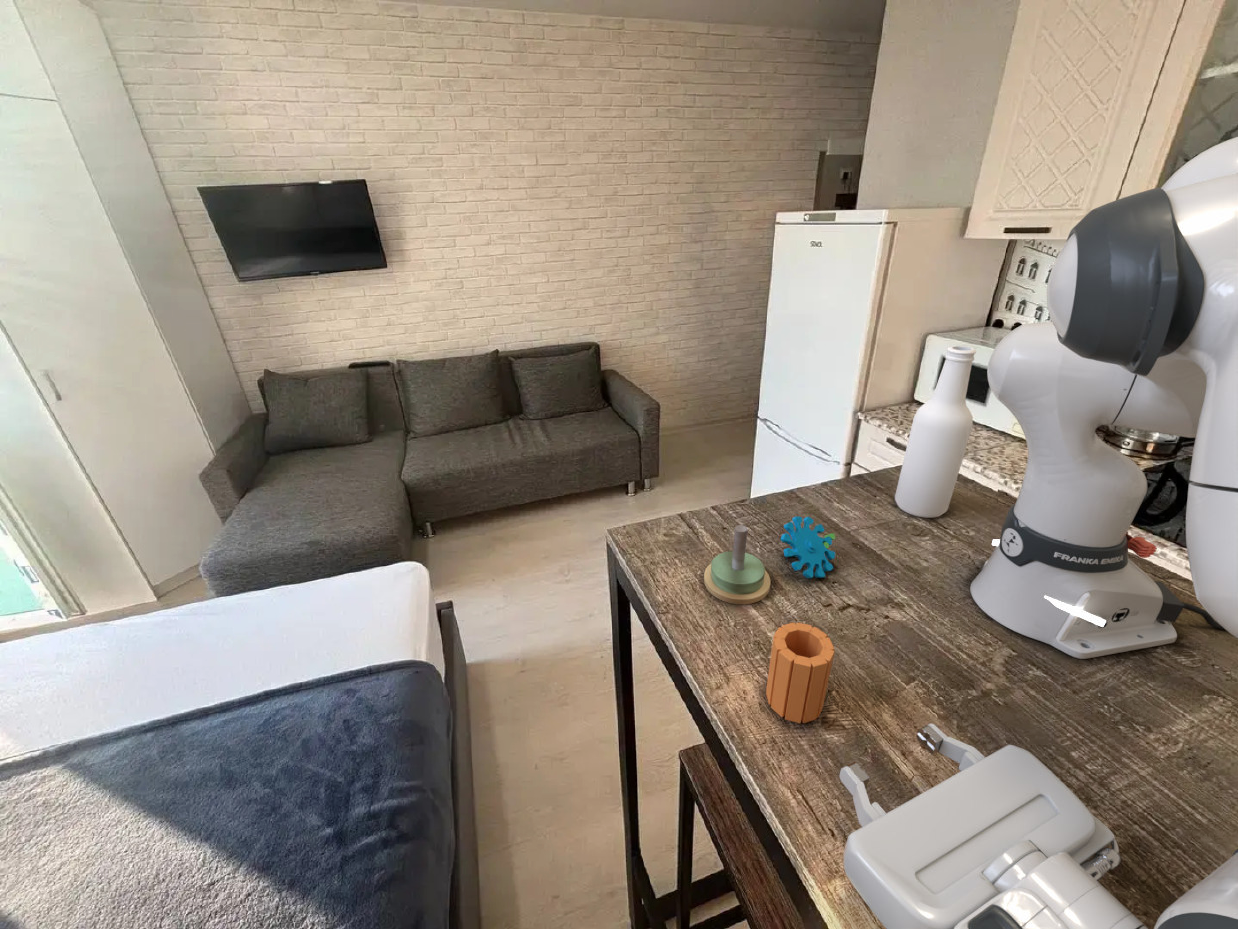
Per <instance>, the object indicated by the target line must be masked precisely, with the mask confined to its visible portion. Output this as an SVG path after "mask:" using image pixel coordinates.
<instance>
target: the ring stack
mask: <svg viewBox="0 0 1238 929" xmlns="http://www.w3.org/2000/svg"><path fill="white" fill-rule="evenodd" d="M733 532H734V534H733V544H732V545H733V546H732V550H729V551H724V552H721V553H719V554H717V555H716V556H714V558H713V559H712V560H711V562H710V563H709V564H708V565H707V567H705V570H704V572H703V583H704V585H705V588H706V590H707V591H708V593H709V594H711V595H712V596H713V597H714V598H716V599H718V600H720V601H723V602H726V603H728V604H733V605H751V604H755V603H758V602H760V601H761V600H763V599H765V598H766V597H767V595H768V594H769V593H770V590H771V577H770V574H769V573H768V572H767V570H766V568H765V565H764V563H763V562H762V560H760V559H759V558H758V557H757V556H755V555H754V554H751V553H748V552H746V550H747V549H746V548H747V538H748V527H747V526H746V525H744V524H738V525H735V526H734V531H733Z"/></svg>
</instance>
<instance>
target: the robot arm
mask: <svg viewBox="0 0 1238 929" xmlns="http://www.w3.org/2000/svg"><path fill="white" fill-rule="evenodd" d="M1046 305H1047V310H1048V311H1047V312H1048V315H1049V318H1050V320H1051V321H1043V322H1033V323H1023V324H1021V325H1019V326H1018V327H1016V328H1014V329H1013V330H1010V332H1008V333H1007V334H1006V335H1004V336H1003V338H1002V339H1001V340H1000V341H999V342H998V343H997V345H996V346H995V347H994V349H993V351H992V353H991V355H990V357H989V360H988V363H987V371H986V372H987V374H986V375H987V376H986V377H987V381H988V386H989V388H990V390H991V392H992V394H993V395H994V397H995V398H996V399H997V400H998V401H999V402H1000V403H1001V404H1002V405H1004V407H1006V408H1007V410H1009V412H1010V413H1011V414H1012V415H1013V417H1014V418H1015V419H1016V421H1017V423H1018V424H1019V426H1020V428H1021V430H1022V433H1023V435H1024V438H1025V442H1026V446H1027V458H1026V459H1027V461H1026V466H1025V471H1024V475H1023V479H1022V483H1021V485H1020V489H1019V493H1018V495H1017V499H1016V501H1015V503H1013V504H1011V506H1010V508H1009V509H1008V512H1007V514H1006V517H1005V519H1004V521H1003V523H1002V527H1001V532H1000V538H999V539H992V543H991V545H992V546H995V547H994V549H993V551H992V553H991V555H990V556H989V558H988V559H987V560H986V561H985V562H984V564H983V566H982V569H981V571H980V572H979V573H978V575H976V577H975V578H974V579H973V580H972V581H971V583H970V588H969V590H970V595H971V597H972V599H973V601H974V602H975V603H976V605H978V607H979V609H981V610H982V611H983V612H984V613H985V614H986V615H987V616H989V617H990V619H993V620H994V621H996V622H997V623H999V624H1000V625H1002V626H1004V627H1006V628H1008V629H1009V630H1011V631H1013V632H1015V633H1018V634H1020V635H1022V636H1025V637H1027V638H1031V639H1033V640H1037V641H1038V642H1039V641H1040V642H1042V643H1045V644H1048V645H1049V646H1051V647H1053V648H1055V649H1057V650H1058V651H1061V652H1063V653H1064V654H1066V655H1068V656H1070V657H1073V658H1075V659H1080V660H1086V659H1092V658H1098V657H1102V656H1109V655H1113V654H1119V653H1125V652H1131V651H1137V650H1142V649H1147V648H1153V647H1157V646H1163V645H1170V644H1173V643H1175V642H1176V640H1177V639H1178V633H1177V631H1176V629H1175V627H1174V626H1173V624H1172V623H1176V621H1177V619H1178V618H1179V616H1180V614H1181V613H1182V612H1183V610H1188V611H1190V612H1193V613H1196V614H1197V615H1200V616H1201V617H1202V618H1203V619H1204V620H1205V622H1206V623H1207V624H1208V625H1210V626H1211V627H1213V628H1215V629H1219V630H1221V631H1227V632H1228V633H1229V634H1230V635H1232V637H1235V638H1236V639H1237V640H1238V136H1235V137H1233V138H1230V139H1227V140H1225V141H1223V142H1221V143H1218V144H1216V145H1213V146H1211V147H1209V148H1208V149H1206V150H1204V151H1202V152H1200V153H1199V154H1197V155H1196V156H1195V157H1193V158H1191V159H1190V160H1188V161H1186V162H1185V164H1183V165H1182V166H1181V167H1179V169H1177V170H1176V171H1175V172H1174V173H1173V174H1172V175H1171V176H1170V177H1169V179H1167V180H1166V182H1165V183H1164V184H1163V185H1162V186H1161V187H1155V188H1151V189H1148V190H1144V191H1141V192H1136V193H1134V194H1131V195H1127V196H1125V197H1122V198H1118V199H1116V200H1113V201H1110V202H1107V203H1104V204H1102V205H1100V206H1098V207H1096V208H1093V209H1091V210H1090V211H1089V212H1088V213H1087V214H1086V215H1085V216H1083V218H1082V219H1081V220H1080V221H1079V222H1078V223H1076V225H1075V226H1074V227H1072V228H1071V230H1070V231H1069V233H1068V235H1067V239H1066V242H1065V244H1064V245H1063V246H1062V247H1061V250H1060V251H1059V252H1058V254H1057V257H1056V258H1055V261H1054V263H1053V265H1052V268H1051V270H1050V273H1049V277H1048V281H1047V286H1046ZM1101 426H1113V427H1114V426H1115V427H1121V428H1127V429H1134V430H1139V431H1143V432H1144V431H1145V432H1150V433H1157V434H1163V435H1168V436H1175V437H1181V438H1189V439H1194V444H1193V450H1192V457H1191V465H1190V471H1189V478H1188V479H1189V481H1190V482H1189V483H1188V488H1187V489H1188V490H1187V501H1186V510H1185V543H1186V551H1187V559H1188V564H1189V570H1190V575H1191V581H1192V585H1193V589H1194V594H1195V597H1196V600H1197V601H1198V603H1200V605H1201V606H1202V607H1203V608H1201V607H1199V606H1196V605H1195V604H1194V605H1193V604H1191V603H1187V602H1183V601H1181V600H1180V599H1179V598H1178V597H1177V596H1176V595H1175V594H1174V592H1172V591H1171V590H1170V589H1169V587H1167V586H1166V585H1165V584H1164V582H1162V581H1157V580H1154V579H1152V578H1151V577H1150V576H1149V575H1148V574H1147V573H1146V572H1145V571H1144V570H1142V569H1141V568H1140V567H1139V566H1138V565H1137V564H1135V562H1134V561H1132V560H1131V559H1130V558H1129V551H1133V553H1134V554H1136V555H1137V556H1138V557H1139V558H1142V559H1147V558H1150V557H1151V556H1153V555H1155V553H1157V549H1158V548H1157V545H1156V544H1154V543H1152V542H1150V541H1147V540H1146V538H1144V537H1142V536H1134V537H1133V536H1132V535H1131V534H1129V529H1130V527H1131V526H1132V523H1133V521H1134V519H1135V517H1136V515H1137V513H1138V511H1139V509H1140V506H1141V505H1142V503H1143V501H1144V499H1145V497H1146V495H1147V492H1148V480H1147V477H1146V475H1145V473H1144V472H1143V470H1142V469H1141V467H1140V466H1139V465H1138V464H1137V463H1135V461H1134V460H1132V459H1131V458H1129V457H1128V456H1127V455H1125V454H1124V453H1122V452H1120V451H1119V450H1118V449H1116V448H1113V447H1112V446H1110V445H1109V444H1108V443H1106V442H1105V441H1103V439H1101V438H1100V437H1099V436H1098V434H1097V432H1096V431H1097V428H1099V427H1101ZM916 739H917V742H918V744H920V745H921V746H924V749H925V750H926V751H927V752H928V753H929V754H931V756H932V755H934V754H936V753H940V754H941V755H943V756H944V757H946V758H948V759H950V760H952V761H954V762H956V763H958V764H959V765H958V770H959V772H957V773H956V774H953V775H952V776H950V777H948V778H946V779H944V780H942V781H941V782H940V783H938V784H936V785H934V786H932V787H930V788H929V789H927V790H925V791H924V792H922V793H920V794H917V795H916V796H915V797H913V798H911V799H909V800H908V801H906V802H904V803H902V804H900V805H899V806H897V807H895V808H893V809H892V810H890V811H888V812H886V811H885V810H884V809H883V807H882V806H881V805H880V804H879V802H878V801H877V802H876V801H874V802H873V803H871V802H870V798H869V795H868V793H867V792H868V791H867V788H868V786H869V785H868V784H869V782H870V778H871V777H870V776H869V775H868V773H866V771H865V770H863V769H861V768H862V767H861V765H860V764H859V763H857V761H853V762H851V763H849V764H847V765H845V766H843V767H841V768H840V771H839V775H838V776H839V779H840V782H841V783H842V784H843V786H844V787H845V788H846V789H847V790H848V792H849V794H851V796H852V801H853V806H854V808H855V809H854V810H855V812H856V817H857V820H858V824H859V825H860V826H861V827H860V828H858V829H856V830H854V831H852V832H851V833H850V834H849V835H848V837H847V839H846V842H845V845H844V849H843V852H842V861H843V869H844V872H845V875H846V877H847V879H848V880H849V882H850V883H851V885H852V886H853V888H854V889H855V891H856V892H857V893H858V895H859V897H861V899H862V900H863V901H864V902H865V904H866V905H867V907H868V908H869V909H870V911H871V912H872V913H873V915H874V916H875V917H876V919H878V920H879V922H880V923H881V924H882V925H883V927H884V928H885V929H1149V928H1148V927H1147V926H1146V925H1144V923H1143V922H1142V921H1141V920H1140V919H1139V918H1138V917H1137V916H1135V914H1133V913H1132V912H1131V911H1130V910H1129V909H1128V908H1127V907H1126V906H1124V904H1122V903H1121V902H1120V901H1119V900H1118V898H1116V896H1114V895H1113V894H1112V893H1111V892H1110V891H1109V890H1108V889H1107V888H1106V887H1105V886H1103V885H1102V884H1101V883H1100V880H1101V879H1102V878H1103V877H1104V876H1105V874H1106V873H1108V872H1110V871H1113V870H1115V869H1116V868H1118V867H1119V865H1120V864H1121V862H1122V857H1121V855H1120V847H1119V844H1118V842H1117V839H1116V836H1115V834H1114V833H1113V831H1111V829H1110V828H1109V827H1108V826H1106V824H1104V823H1103V822H1102V821H1101V820H1099V818H1097V817H1096V816H1095V815H1094V814H1093V813H1091V811H1090V810H1089V809H1088V807H1087V806H1086V805H1085V804H1084V802H1082V801H1081V799H1079V797H1078V796H1077V795H1076V794H1075V793H1074V792H1073V791H1072V790H1071V789H1070V788H1069V787H1068V786H1067V785H1066V784H1065V783H1064V782H1063V781H1062V780H1061V779H1060V778H1059V777H1058V776H1056V774H1054V773H1053V772H1052V771H1051V769H1049V768H1048V767H1047V766H1046V765H1045V764H1044V763H1043V762H1042V761H1040V760H1039V759H1038V758H1037V757H1036V756H1035V755H1034V754H1033V753H1031V752H1030V751H1028V750H1027V749H1024V748H1022V747H1019V746H1016V745H1015V744H1007V745H1005V746H1004V747H1002V748H999V749H998V750H996V751H994V752H993V753H991V754H989V755H987V756H985V755H983V754H982V753H981V752H980V750H978V749H977V748H976V747H975V746H973V745H970V744H968V743H965V742H962V741H961V740H958V739H955V738H953V737H951V736H948V735H947V734H945V733H944V732H943V731H942V730H941V729H940V728H939V727H938V726H936V725H935V724H934V723H931V722H930V723H928V724H926V725H925V726H923V727H921V728H919V729H918V733H917V734H916ZM1110 845H1111V847H1108V846H1110ZM1153 929H1238V848H1237V849H1236V850H1235V851H1234V852H1233V854H1232V855H1231V857H1229V858H1228V859H1227V860H1226V861H1225V862H1223V863H1222V864H1221V865H1219V866H1218V867H1217V868H1216V869H1214V870H1213V871H1212V872H1211V873H1209V874H1208V875H1207V876H1206V877H1205V878H1203V879H1202V880H1201V881H1199V882H1198V883H1197V884H1195V885H1194V886H1193V887H1191V888H1190V889H1189V890H1187V891H1186V892H1185V893H1184V894H1182V895H1181V896H1180V897H1179V898H1177V899H1176V900H1175V901H1174V902H1172V903H1171V904H1170V905H1169V906H1168V907H1167V908H1165V909H1164V911H1162V913H1161V914H1160V916H1159V917H1158V918H1157V920H1156V923H1155V924H1154V926H1153Z"/></svg>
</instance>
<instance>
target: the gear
mask: <svg viewBox="0 0 1238 929" xmlns="http://www.w3.org/2000/svg"><path fill="white" fill-rule="evenodd" d="M814 522H815V521H814V519H813V518H812V517H810V516H806V517H802V516H794V517H792V520H791V521H789V522H787V523H785V524H784V525H783V529H785V531H786V532H784V533H783V534H781V537H780V542H782V543H783V544H786V545H789V546H790V547H787V548H784V549H783V555H784V557H785V558H791V557H795V558H798V560H796V561H793V562H792V563H791V568H792V569H793V570H794V571H795V572H797V571H800V570H802V568H803V566H804V565H806V566H807V569H805V570H803V572H802V576H803V577H805V578H806V579H808V580H809V579H812V578H813V577H815V578H816V579H822V578H825V577H826V572H830V571H832V570H833V569H834V566H833V564H832V563H831V562H830V561H832V560H835V558H836V552H835V551H834V550H830V549H829V548H830V546H831V545H833V540H835V539H836V534H835V533H833V532H832V533H829V534H826V535H824V537H821V536H820V535H819V534H821V533H824V532H825V528H824V526H823V524H822V523H820V524H817V525H815V526H814V528H813V530H812V529H811V528H810V526H811V525H812V524H814ZM802 523H803V527H802ZM814 568H815V571H814Z"/></svg>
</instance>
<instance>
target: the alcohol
mask: <svg viewBox="0 0 1238 929" xmlns="http://www.w3.org/2000/svg"><path fill="white" fill-rule="evenodd" d="M946 351H947V353H946V354H945V357H944V358H945V360H944V363H943V366H942V368H941V372H940V375H939V377H938V381H937V384H936V386H935V389H934V391H933V394H932V396H931V397H930V399H929V400H928V401H926V402H925V403H923V404H922V405H920V407H919V408H918V409H917V411H916V412H915V414H914V416H913V420H912V423H911V428H910V431H909V435H908V439H907V444H906V448H905V453H904V457H903V461H902V465H901V468H900V473H899V477H898V482H897V486H896V491H895V494H894V501H895V503H896V505H897V507H898V508H899V509H900V510H902V511H903V512H905V513H907V514H908V515H912V516H915V517H919V518H926V519H932V518H938V517H941V516H942V515H943V514H945V513H946V512H947V511H948V510H949V508H950V504H951V500H952V496H953V493H954V490H955V486H956V483H957V481H958V476H959V474H960V470H961V467H962V463H963V460H964V456H965V453H966V449H967V448H968V442H969V439H970V437H971V433H972V430H973V426H974V425H973V424H974V423H973V422H974V420H973V414H972V412H971V410H970V409H969V407H968V406H967V401H966V397H967V394H968V393H967V392H968V387H969V382H970V377H971V376H970V375H971V371H972V366H973V362H974V361H975V355H976V353H977V350H976V349H975V348H973V347H971V346H965V345H952V346H949V347H947V348H946Z"/></svg>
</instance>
